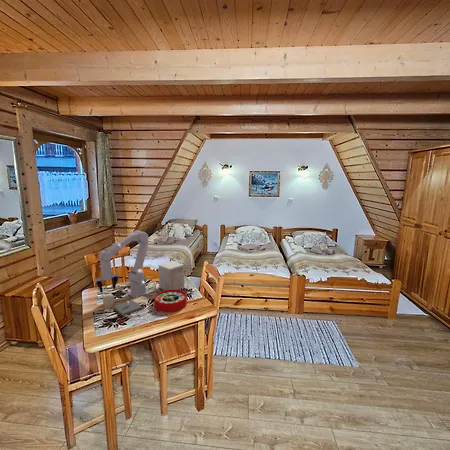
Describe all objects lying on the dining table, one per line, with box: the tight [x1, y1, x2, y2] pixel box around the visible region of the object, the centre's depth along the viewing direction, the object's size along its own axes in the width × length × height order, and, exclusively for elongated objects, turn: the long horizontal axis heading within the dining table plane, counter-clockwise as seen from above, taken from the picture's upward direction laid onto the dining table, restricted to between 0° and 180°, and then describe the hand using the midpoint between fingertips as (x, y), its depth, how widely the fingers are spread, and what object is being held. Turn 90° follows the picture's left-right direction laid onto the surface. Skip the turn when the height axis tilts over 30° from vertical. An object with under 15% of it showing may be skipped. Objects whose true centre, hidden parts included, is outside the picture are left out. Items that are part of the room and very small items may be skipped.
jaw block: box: [102, 292, 115, 308], centre depth 162 cm, size 5×5×6 cm
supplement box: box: [158, 260, 185, 291], centre depth 187 cm, size 13×13×18 cm
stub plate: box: [113, 300, 143, 317], centre depth 157 cm, size 12×12×5 cm
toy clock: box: [153, 289, 188, 313], centre depth 163 cm, size 20×6×20 cm
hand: (107, 290), depth 161 cm, fingers open, 7 cm apart
